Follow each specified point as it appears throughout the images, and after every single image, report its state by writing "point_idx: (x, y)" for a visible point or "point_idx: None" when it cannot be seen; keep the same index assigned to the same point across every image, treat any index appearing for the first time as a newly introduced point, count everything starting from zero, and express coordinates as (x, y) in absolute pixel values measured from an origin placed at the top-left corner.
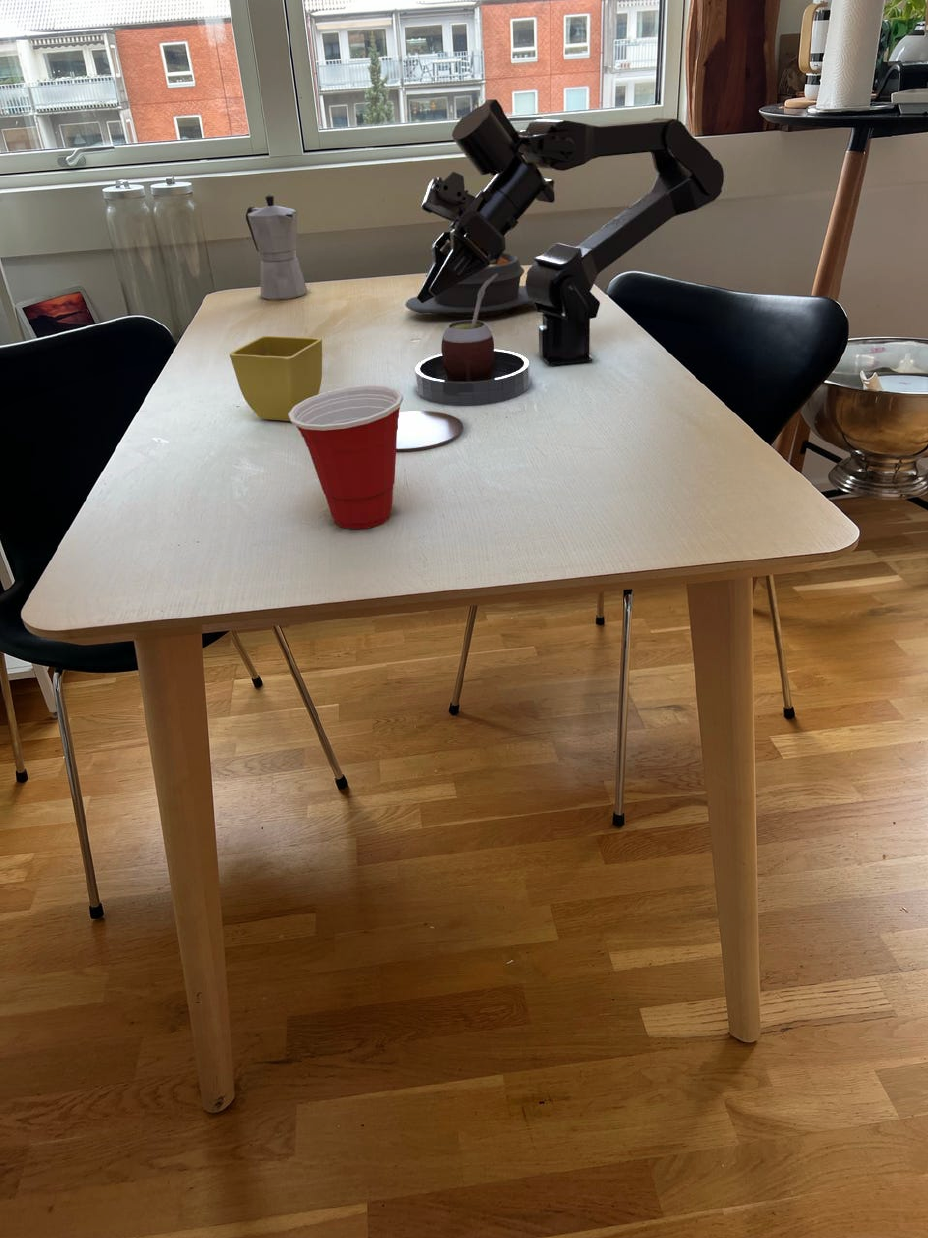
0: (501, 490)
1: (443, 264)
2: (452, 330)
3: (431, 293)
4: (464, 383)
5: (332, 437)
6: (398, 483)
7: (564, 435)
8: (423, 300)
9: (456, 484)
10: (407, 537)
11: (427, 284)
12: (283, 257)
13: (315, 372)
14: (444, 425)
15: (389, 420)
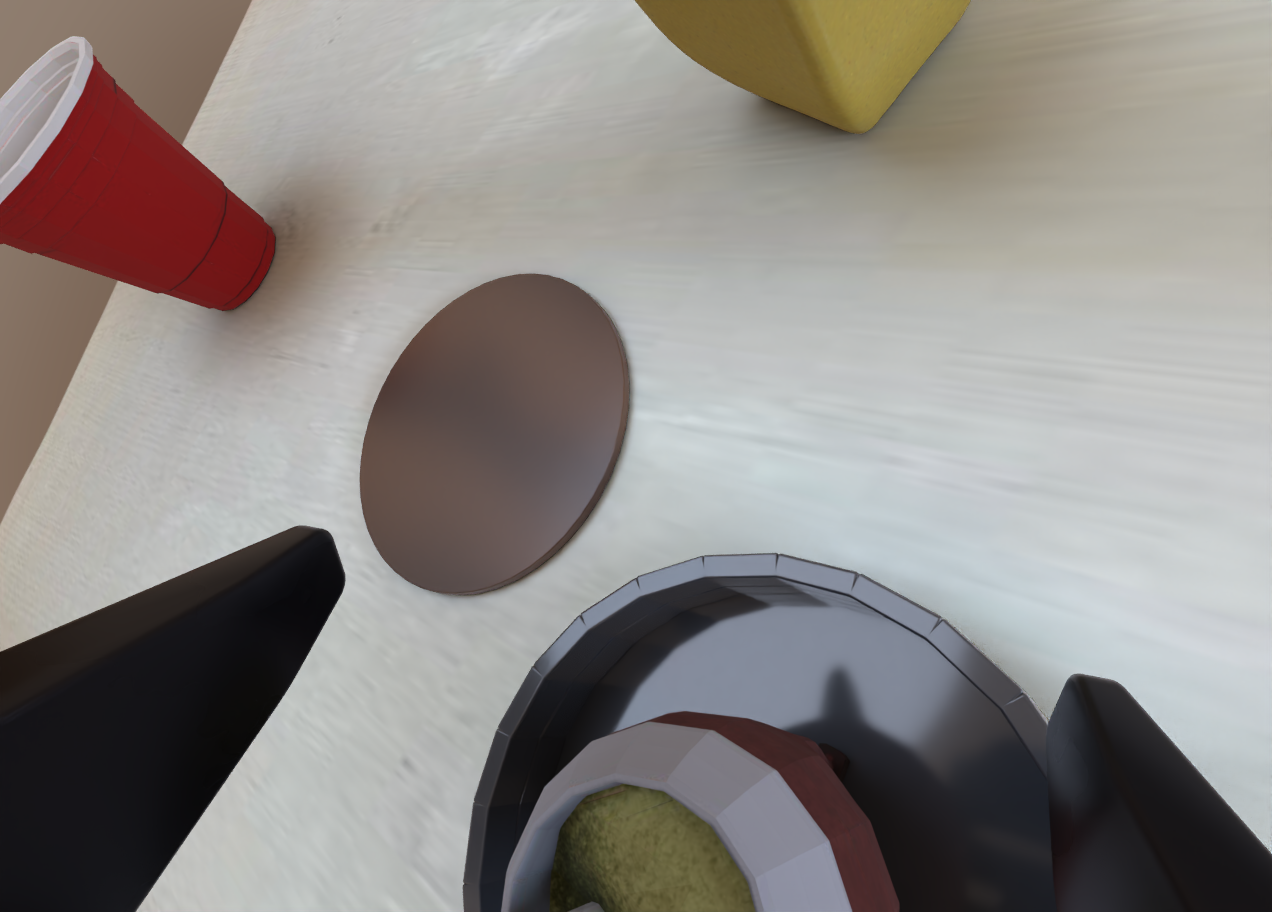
0: (166, 516)
1: (25, 692)
2: (590, 770)
3: (1081, 907)
4: (519, 694)
5: (24, 131)
6: (291, 342)
7: (225, 823)
8: (1052, 751)
9: (226, 446)
10: (171, 325)
11: (1152, 904)
12: None
13: (762, 53)
14: (440, 530)
15: None
